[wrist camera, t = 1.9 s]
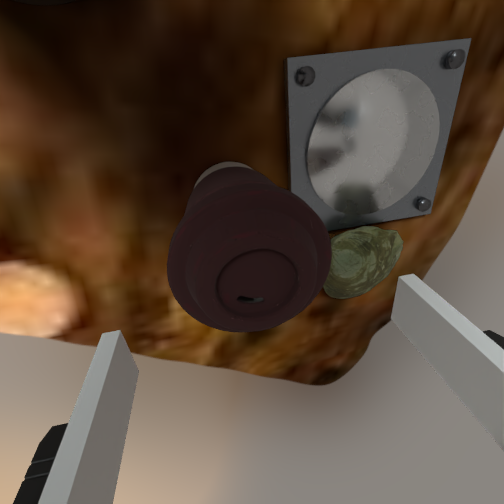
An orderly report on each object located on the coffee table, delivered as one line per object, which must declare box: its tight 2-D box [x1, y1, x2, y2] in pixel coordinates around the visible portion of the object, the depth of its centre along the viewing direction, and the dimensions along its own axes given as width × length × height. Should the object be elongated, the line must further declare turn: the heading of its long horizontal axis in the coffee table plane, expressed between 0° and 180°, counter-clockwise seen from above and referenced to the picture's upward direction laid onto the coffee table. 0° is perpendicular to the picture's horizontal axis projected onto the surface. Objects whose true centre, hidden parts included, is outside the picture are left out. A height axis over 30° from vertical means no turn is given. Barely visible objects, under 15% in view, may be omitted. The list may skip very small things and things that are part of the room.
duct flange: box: [284, 38, 471, 231], centre depth 28 cm, size 16×16×2 cm
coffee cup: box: [167, 162, 332, 332], centre depth 22 cm, size 10×10×15 cm
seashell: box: [323, 226, 403, 299], centre depth 33 cm, size 10×7×10 cm
